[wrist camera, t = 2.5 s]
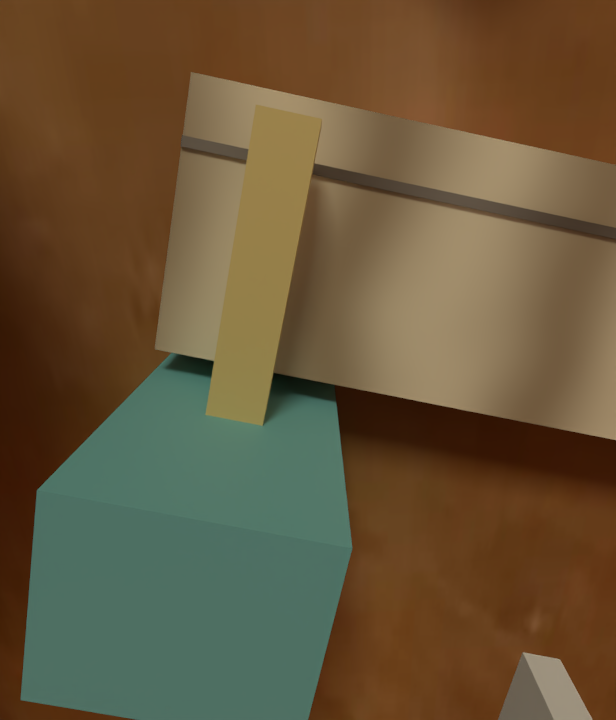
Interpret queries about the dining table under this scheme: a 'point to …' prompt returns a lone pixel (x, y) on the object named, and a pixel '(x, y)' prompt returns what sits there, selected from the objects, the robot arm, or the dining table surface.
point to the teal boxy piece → (203, 505)
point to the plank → (412, 261)
